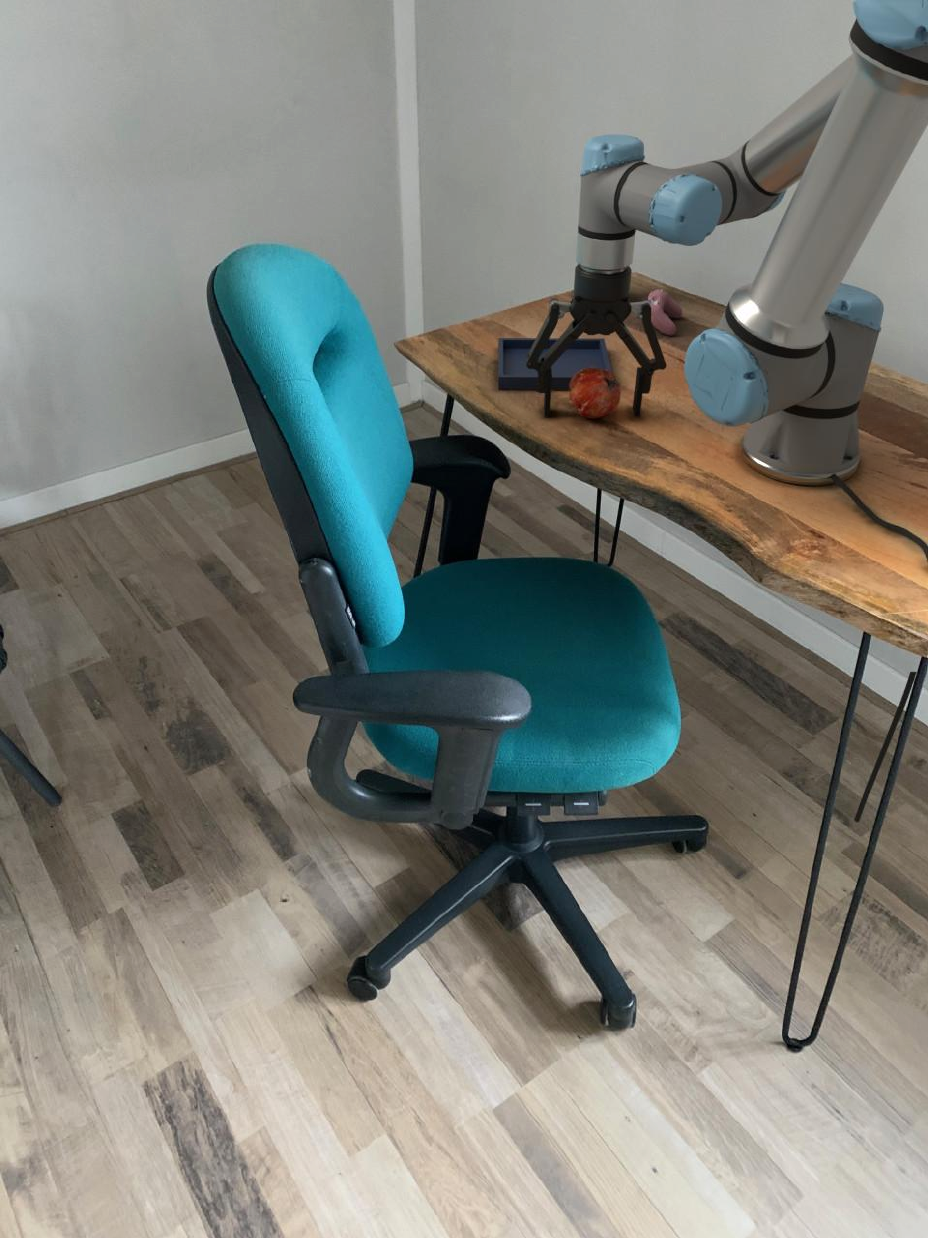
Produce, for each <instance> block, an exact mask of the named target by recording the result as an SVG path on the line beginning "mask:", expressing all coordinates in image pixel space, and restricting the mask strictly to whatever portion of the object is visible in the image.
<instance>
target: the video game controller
mask: <svg viewBox="0 0 928 1238" xmlns="http://www.w3.org/2000/svg"><path fill="white" fill-rule="evenodd" d="M647 299H648V300H649V302H650V305H651V322H652V325H653V327H654V329H655V330H658V331H659V332H660V333H662V334H664V335H665V336H670V337H671V336H674V335H675V334H676V332H677V326H676V324H675V323H674V321H672V320H671V319H670V318H673V319H680V318H682V316H683V309H682V307H681V306H680V305H679V304H678V302H676V300H674V299H673V298H672V297H671V295H670V293H668V292H667V290H665V289H664V288H662V289H661V290H660V289H655V290H652V291H651V292H650V293H649V294H648V297H647ZM669 317H670V318H669Z"/></svg>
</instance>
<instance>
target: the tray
mask: <svg viewBox="0 0 928 1238" xmlns="http://www.w3.org/2000/svg"><path fill="white" fill-rule="evenodd" d="M558 338H559V337H550V338H549V340H548V342H547V344H546V346H545V348H544V350H543V351H542V353H541V355H540V357H539V358H540V359H541V358H542V356H543V355H544V354H545V353H546V352H547V351H548V350H549V349H550V347H551V346H552V345H553V344H554V343H555V342H556V341H557V340H558ZM497 339H498V340H497V390H499V391H500V390H504V391H505V390H507V391H508V390H511V391H512V390H513V391H524V390H525V391H527V390H528V391H538V388H537V382H538V372H537V371H536V370H535V369H528V368H527V366H526V356H527V354H528V352H529V351H530V349H531V347H532V345H533V343H534V341H535V339H536V337H498V338H497ZM610 361H611V360H610V357H609V353H608V348H607V344H606V340H605V338H580V337H579V338H578V339H576V340H575V341H574V342H573V343H572V344H571V345H570V346H569V347H568V348H567V349H566V351H565V352H564V353H563V354H562V355H561V356H560V357H559V358H558V359H557V361H556V362H555V363H554V364H553V365H552V366H551V370H552V383H551V391H570V389H569V384H570V382H571V380H572V378H573V377H574V375H575V374H577V373H578V372H579V371H580V370H582V369H585V368H588V367H597V368H599V369H605V370H609V371H610V372H611V373H612V374H613V370H612V366H611V362H610Z"/></svg>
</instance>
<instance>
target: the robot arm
mask: <svg viewBox="0 0 928 1238" xmlns="http://www.w3.org/2000/svg"><path fill="white" fill-rule="evenodd" d="M852 7H853V13H854V15H855V21H854V22H853V25H852V27H851V30H850V32H849V34H848V43H849V46H850V49H851V52H852V54H850V55H849V56H848V57H847V58H846V59H844V60H843V61H842V62H841V63H839V64H838V65H837V66H835V68H834V69H832V70H831V71H830V72H829V73H828V74H826V75H825V76H824V77H822V78H821V79H820V80H819V81H818V82H817V83H816V84H814V85H813V86H811V88H809V89H808V90H807V91H806V92H805V93H803V94H802V95H801V96H800V97H798V99H796V100H795V101H794V102H792V104H790V105H789V106H788V107H786V109H785V110H783V111H781V112H780V113H779V114H778V115H777V116H776V117H774V118H773V119H772V120H771V121H770V122H769V123H768V124H766V125H765V126H764V127H762V128H761V129H760V130H759V131H757V133H755V134H754V135H753V136H752V137H751V138H750V139H748V140H747V141H746V142H745V143H743V144H742V145H741V146H740V147H739V148H738V149H736V150H735V151H733V152H732V153H731V154H730V155H728V156H726V157H722V158H719V159H715V160H710V161H706V162H700V163H696V164H692V165H687V166H683V167H682V166H681V167H677V168H666V167H663V166H658V165H655V164H654V165H653V164H651V163H648V162H646V161H644V160H645V159H646V156H645V143H644V142H643V140H641V139H640V138H638V137H636V136H633V135H627V134H603V135H597V136H593V137H591V138H590V139H589V140H588V141H587V142H586V143H585V145H584V149H583V157H582V164H581V172H580V175H579V176H580V189H579V190H580V191H579V209H578V224H577V238H576V252H575V253H576V254H575V256H576V257H575V261H576V262H577V265H576V266H575V268H574V281H573V282H574V283H573V296H572V299H571V300H570V302H567V301H559V299H558V298H554V297H553V298H551V299H550V301H549V307H548V314H547V316H546V318H545V320H544V321H543V324H542V326H541V328H540V330H539V332H538V333H537V335H536V337H535V338H536V339H535V341H534V343H533V345H532V347H531V349H530V351H529V352H528V354H527V356H526V366H527V368H528V369H535V370H536V371H537V372H538V382H537V388H538V390H537V392H538V394H544V395H543V397H544V399H543V413H544V417H550V416H551V401H552V400H551V399H552V390H551V383H552V370H551V366H552V365H553V364H554V363H555V362H556V361H557V359H558V358H559V357H560V356H561V355H562V354H563V353H564V352H565V351H566V349H567V348H568V347H569V346H570V345H571V344H572V343H573V342H574V341H575V340H576V339H578V338H580V336H582V334H583V333H584V334H587V336H595V335H601V336H611V335H612V334H613V333H616V335H617V336H618V338H619V339H620V340H621V341H622V342H623V344H624V345H625V347H626V348H627V350H628V351H629V353H630V354H631V355H632V357H633V358H634V359H635V361H636V362H637V363H638V364H639V367H638V366H637V367H636V374H635V384H634V391H633V392H634V393H633V401H632V412H633V417H634V418H640V417H641V412H642V411H641V410H642V401H643V395H645V394H648V395H649V394H650V392H651V386H652V379H653V375H654V374H655V372H656V371H659V370H660V371H664V370H666V368H667V365H668V364H667V362H666V359H665V356H664V353H663V351H662V347H661V345H660V341H659V338H658V337H657V333H656V331H655V330H656V329H655V327H654V325H653V324H652V322H651V305H650V302H649V300H648V298H643V299H641V301H635V302H631V301H630V291H631V282H632V272H633V270H632V268H631V265H632V264H633V262H634V253H635V252H634V251H635V242H636V241H635V240H636V232H642V233H644V234H647V235H649V236H652V237H654V238H657V239H660V240H661V241H663V242H665V243H666V242H667V243H668V244H671V245H672V244H674V245H676V244H677V245H680V246H681V245H682V246H685V247H686V246H687V247H693V246H697V245H700V244H701V243H703V242H704V241H705V239H706V238H707V237H708V236H711V234H712V233H713V232H714V231H715V229H716V227H717V226H721V225H726V224H729V223H733V222H737V221H742V220H748V219H754V218H757V217H759V216H761V215H763V214H765V213H768V212H770V211H772V210H774V209H775V208H777V206H779V205H780V204H781V202H782V201H783V199H784V197H785V195H786V193H787V192H788V191H787V190H788V189H790V188H791V187H792V186H794V185H795V184H796V183H798V184H797V186H796V188H795V189H794V190H795V191H794V192H793V194H792V197H791V198H790V201H789V203H788V204H787V208H786V209H785V212H784V213H783V216H782V218H781V221H780V223H779V224H778V227H777V228H776V231H775V233H774V236H773V238H772V240H771V242H770V243H769V246H768V248H767V250H766V252H765V255H764V257H763V259H762V261H761V264H760V265H759V268H758V270H757V272H756V275H755V276H754V278H753V281H752V282H751V283H748V284H747V283H746V284H744V285H742V286H740V287H737V288H736V289H735V290H734V291H733V292H732V294H731V296H730V298H729V300H728V303H727V304H726V306H725V308H724V311H723V313H722V315H721V318H720V320H719V322H718V324H717V325H716V326H715V328H709V329H706V330H703V331H702V332H701V333H700V334H699V335H697V336H696V337H695V338H694V339H692V341H691V342H690V344H689V346H688V348H687V350H686V353H685V357H684V366H683V367H684V377H685V382H686V384H687V386H688V389H689V394H690V397H691V398H692V400H693V402H694V404H695V405H696V406H697V408H698V409H699V410H700V411H701V412H702V414H704V415H705V416H706V417H707V418H708V419H710V420H711V421H713V422H714V423H716V424H718V425H721V426H725V427H730V428H731V427H734V428H735V427H740V426H744V425H747V424H749V425H748V427H747V429H746V430H745V433H744V435H743V437H742V441H741V446H740V455H741V457H742V460H743V461H744V462H745V464H747V466H749V467H750V468H751V469H752V470H754V471H756V472H758V473H760V474H761V475H763V476H766V477H768V478H770V479H773V480H776V481H779V482H783V483H789V484H793V485H794V484H795V485H799V486H800V485H802V486H825V485H832V484H836V485H837V486H838V487H839V488H840V489H841V490H842V491H843V492H844V493H845V494H846V495H847V496H848V497H849V498H850V499H851V500H852V501H853V503H855V505H857V507H858V508H859V509H860V510H861V511H862V512H863V513H864V514H865V515H866V516H867V517H868V518H869V519H870V520H872V521H873V523H875V524H877V525H878V526H880V527H882V528H885V529H887V530H889V531H894V532H896V533H899V534H900V535H902V536H904V537H906V538H907V539H909V540H910V541H912V542H913V543H915V544H916V545H917V546H919V547H920V549H921V550H922V552H923V553H924V555H925V559H926V562H927V563H928V544H927V542H925V541H924V540H923V539H922V538H921V537H919V536H917V534H914V533H913V532H912V531H910V530H909V529H907V528H905V527H902V526H900V525H897V524H894V523H891V522H888V521H887V520H884V519H882V518H881V517H879V516H878V515H877V514H876V513H875V512H874V511H872V510H871V508H870V507H868V506H867V505H866V504H865V502H863V501H862V499H861V498H859V495H857V494H856V493H855V492H854V491H853V490H852V489H851V488H850V487H849V486H848V485H847V484H846V483H845V482H844V481H845V480H848V479H849V478H850V477H853V475H854V474H855V473H856V471H857V470H858V466H859V462H860V458H861V444H860V443H861V442H860V432H859V430H860V429H859V421H858V420H859V419H858V410H859V407H860V403H861V398H862V396H863V392H864V389H865V385H866V381H867V377H868V375H869V370H870V367H871V363H872V360H873V357H874V353H875V349H876V346H877V343H878V339H879V336H880V333H881V332H882V326H881V325H882V321H883V315H884V312H885V306H884V303H883V301H882V300H881V298H879V296H878V295H876V294H874V293H873V292H871V291H870V290H866V289H864V288H861V287H859V286H855V285H850V284H847V283H843V280H844V278H845V277H846V274H847V273H848V271H849V269H850V267H851V265H852V263H853V262H854V260H855V259H856V256H857V255H858V253H859V251H860V249H861V248H862V246H863V244H864V242H865V240H866V238H867V236H868V234H869V233H870V231H871V229H872V227H873V226H874V224H875V223H876V220H877V218H878V217H879V214H880V213H881V211H882V210H883V207H884V206H885V203H886V202H887V200H888V198H889V196H890V194H891V193H892V191H893V189H894V187H895V186H896V184H897V182H898V181H899V178H900V177H901V175H902V173H903V171H904V169H905V167H906V165H907V164H908V162H909V160H910V158H911V156H912V154H913V153H914V151H915V149H916V147H917V145H918V143H919V142H920V140H921V138H922V136H923V135H924V132H925V131H926V129H927V127H928V0H854V1H853V2H852ZM566 313H569V315H571V317H572V318H573V320H572V321H571V322H570V323H569V325H568V326H567V328H565V330H564V332H562V334H561V335H560V336H559V337H557V338H558V340H557V341H556V342H555V343H554V344H553V345H552V346H551V347H550V349H549V350H548V351H547V352H546V353H545V354H544V355H543V356H542V358H541V359H540V358H539V357H540V355H541V353H542V351H543V350H544V348H545V346H546V344H547V342H548V340H549V338H551V336H552V335H553V333H554V331H555V328H556V327H557V325H558V322H559V320H561V319H563V318H564V317H565V315H566ZM631 313H633V314H634V316H635V318H636V319H638V320H641V323H642V326H643V330H644V333H645V334H646V337H647V341H648V344H649V346H650V349H651V351H652V354H653V357H654V358H651V359H650V357H648V355H647V354H646V352H645V351H644V349H643V348H642V346H641V345H640V344H639V342H638V341H637V340H636V338H635V337H634V336H633V334H632V333H631V331H630V330H629V328H628V327H627V325H626V323H625V321H626V319H627V318H628V317H629V316H630V315H631ZM917 673H918V672H917V671H910V672H909V674H908V676H907V677H908V678H907V680H906V683H905V687H904V689H903V692H902V695H901V698H900V701H899V703H898V706H897V708H896V711H895V714H894V716H893V719H892V721H891V723H890V726H889V729H888V732H887V734H886V737H885V739H884V741H883V743H882V746H881V749H880V750H879V753H878V756H877V758H876V762H875V763H874V766H873V769H872V770H871V774H870V776H869V778H868V781H867V784H866V786H865V789H864V792H863V793H862V797H861V799H860V802H859V804H858V808H857V810H856V813H855V816H854V819H853V820H854V822H855V823H860V821H861V818H862V815H863V813H864V810H865V807H866V805H867V802H868V800H869V797H870V794H871V792H872V789H873V786H874V784H875V781H876V778H877V776H878V773H879V771H880V769H881V767H882V764H883V762H884V759H885V757H886V754H887V752H888V750H889V747H890V745H891V742H892V739H893V737H894V735H895V733H896V730H897V727H898V725H899V722H900V720H901V718H902V714H903V712H904V710H905V707H906V704H907V701H908V698H909V696H910V693H911V690H912V687H913V684H914V681H915V679H916V676H917Z"/></svg>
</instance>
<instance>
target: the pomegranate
mask: <svg viewBox="0 0 928 1238" xmlns="http://www.w3.org/2000/svg"><path fill="white" fill-rule="evenodd" d="M620 385H621V383H620V382H619V381H618V380H616V377H615V375H614V374H613V372H612V373H611V372H610V371H609V370H605V369H599V368H597V367H588V368H585V369H582V370H580V371H579V372H578V373H577V374H575V375H574V377H573V378H572V380H571V382H570V384H569V389H570V390H569V394H568V395H569V400H570V402H571V403H572V405H573V406H574V407H575V409H576V410H577V412H578V414H579V415H580V416H582V417H584V418H588V419H593V420H595V419H599V418H602V417H603V416H606V415H609V414H612V413H613V412H614V411H615V410H616V409H617V407H618V405H619V403H620V402H621V389H620V387H619V386H620Z"/></svg>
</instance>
